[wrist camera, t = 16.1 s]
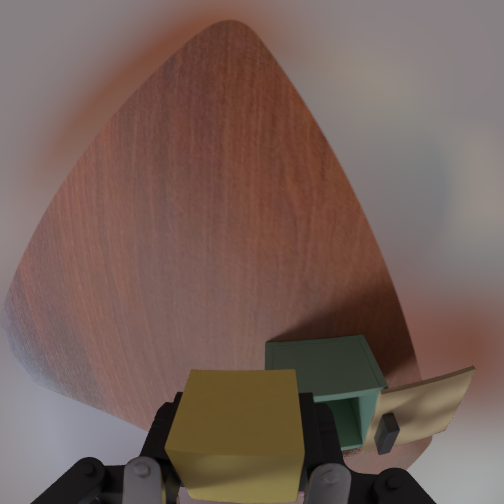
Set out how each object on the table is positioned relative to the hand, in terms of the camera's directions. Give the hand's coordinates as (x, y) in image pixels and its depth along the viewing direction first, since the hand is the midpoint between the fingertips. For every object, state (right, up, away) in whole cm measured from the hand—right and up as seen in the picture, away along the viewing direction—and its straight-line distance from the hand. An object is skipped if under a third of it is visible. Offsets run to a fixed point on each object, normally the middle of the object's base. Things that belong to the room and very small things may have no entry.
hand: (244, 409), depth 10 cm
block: (0, 0, 0) cm, 0 cm away
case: (+8, -8, +21) cm, 23 cm away
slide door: (+17, -10, +11) cm, 23 cm away
